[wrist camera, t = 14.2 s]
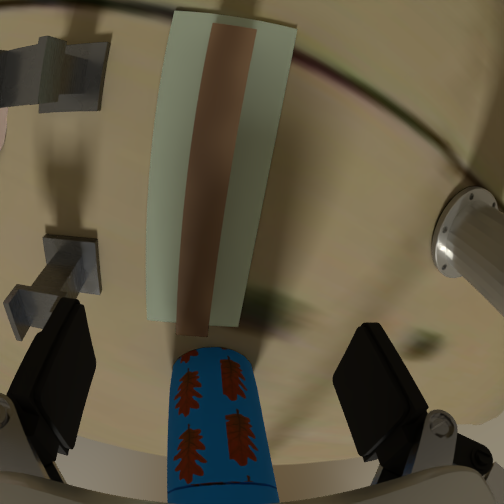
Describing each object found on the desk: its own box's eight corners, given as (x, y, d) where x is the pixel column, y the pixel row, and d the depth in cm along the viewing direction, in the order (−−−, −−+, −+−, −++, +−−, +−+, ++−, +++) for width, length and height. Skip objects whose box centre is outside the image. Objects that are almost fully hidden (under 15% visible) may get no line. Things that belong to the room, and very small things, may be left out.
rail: (249, 40, 20) (257, 29, 16) (206, 310, 31) (207, 337, 28) (212, 34, 19) (212, 22, 16) (178, 308, 31) (175, 334, 27)
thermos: (154, 364, 35) (144, 560, 13) (227, 333, 34) (259, 560, 12) (201, 404, 40) (214, 565, 18) (267, 380, 39) (307, 554, 17)
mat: (296, 30, 20) (297, 29, 19) (237, 324, 33) (238, 326, 33) (175, 12, 18) (174, 10, 17) (147, 317, 31) (147, 319, 31)
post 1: (110, 43, 18) (57, 18, 9) (100, 110, 21) (42, 121, 12) (50, 49, 17) (-17, 37, 8) (42, 112, 20) (-28, 128, 11)
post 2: (97, 239, 26) (57, 302, 18) (101, 290, 29) (73, 360, 20) (45, 234, 25) (-4, 291, 16) (53, 283, 28) (16, 347, 19)
